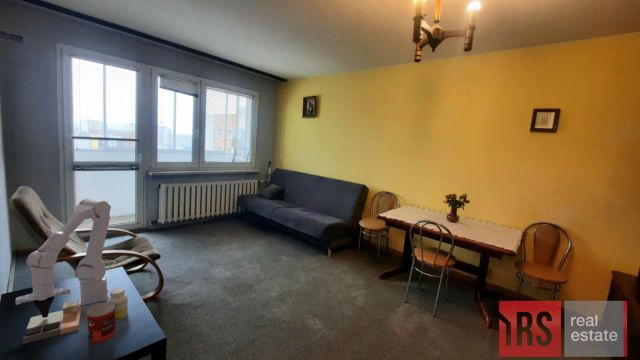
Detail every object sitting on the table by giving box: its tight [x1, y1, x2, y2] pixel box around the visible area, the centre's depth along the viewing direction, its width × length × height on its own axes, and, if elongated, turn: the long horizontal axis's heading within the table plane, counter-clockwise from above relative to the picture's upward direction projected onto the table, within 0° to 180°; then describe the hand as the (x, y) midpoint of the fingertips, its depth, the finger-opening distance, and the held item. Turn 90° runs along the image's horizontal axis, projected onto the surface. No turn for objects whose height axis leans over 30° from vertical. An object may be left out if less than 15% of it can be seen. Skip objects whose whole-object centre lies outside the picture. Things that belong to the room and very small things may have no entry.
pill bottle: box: [107, 287, 129, 323], centre depth 113 cm, size 6×6×12 cm
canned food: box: [86, 302, 116, 344], centre depth 103 cm, size 8×8×11 cm
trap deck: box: [22, 306, 82, 345], centre depth 107 cm, size 14×14×2 cm
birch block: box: [62, 300, 79, 318], centre depth 111 cm, size 4×4×4 cm
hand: (45, 316), depth 107 cm, fingers closed
